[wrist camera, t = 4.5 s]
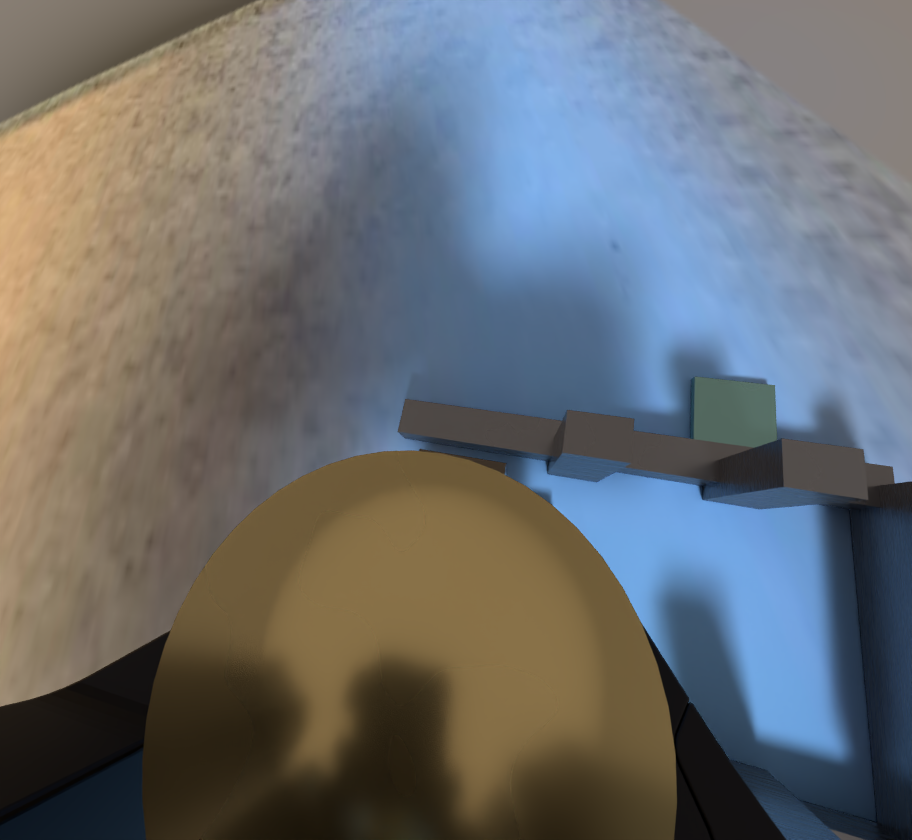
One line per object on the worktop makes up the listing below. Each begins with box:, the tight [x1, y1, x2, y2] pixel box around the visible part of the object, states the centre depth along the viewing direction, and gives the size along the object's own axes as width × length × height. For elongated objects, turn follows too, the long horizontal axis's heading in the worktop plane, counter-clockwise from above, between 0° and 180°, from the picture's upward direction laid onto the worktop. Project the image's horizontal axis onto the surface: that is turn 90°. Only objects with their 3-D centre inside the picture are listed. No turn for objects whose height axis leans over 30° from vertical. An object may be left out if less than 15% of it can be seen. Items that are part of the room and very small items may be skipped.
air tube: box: [142, 449, 677, 840], centre depth 9 cm, size 5×5×12 cm
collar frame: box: [398, 377, 912, 840], centre depth 12 cm, size 16×18×4 cm
